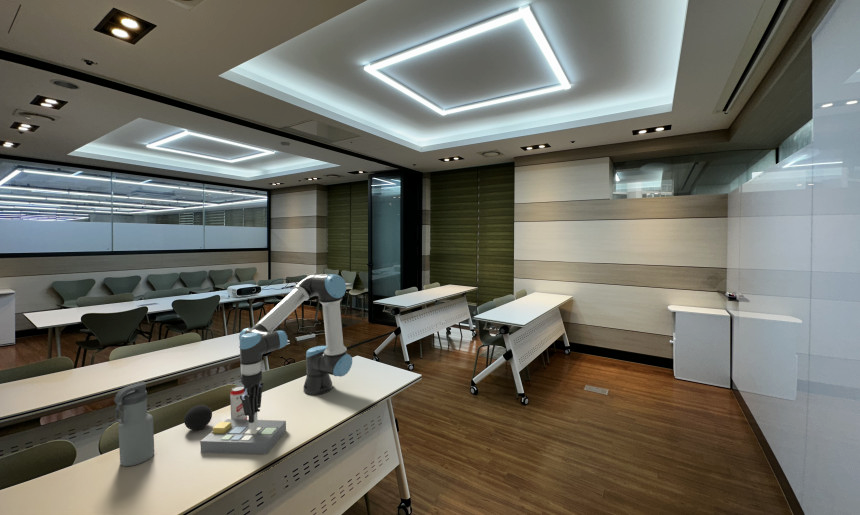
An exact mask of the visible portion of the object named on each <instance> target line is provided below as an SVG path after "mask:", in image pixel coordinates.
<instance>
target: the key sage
mask: <svg viewBox="0 0 860 515" xmlns="http://www.w3.org/2000/svg"><path fill="white" fill-rule="evenodd" d="M276 430H277V428H268V427H266V428H265V429H264V430H263V431H262V432H261V433H260V435H272V434H273V433H274V432H275V431H276Z"/></svg>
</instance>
